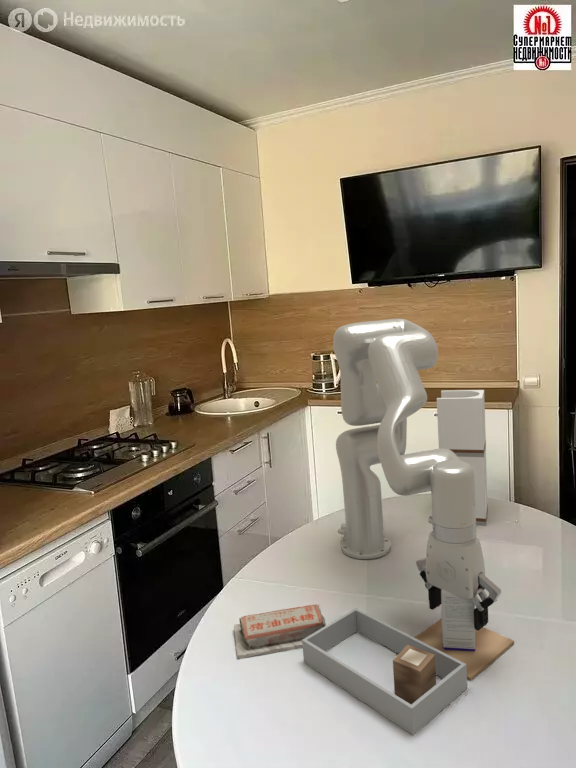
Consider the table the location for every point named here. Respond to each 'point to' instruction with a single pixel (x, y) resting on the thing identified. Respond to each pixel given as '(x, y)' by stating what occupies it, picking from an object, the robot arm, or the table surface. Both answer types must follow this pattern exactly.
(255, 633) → the packaged product
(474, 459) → the tall striped box
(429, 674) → the walnut block
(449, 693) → the grey bin
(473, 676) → the cork mat
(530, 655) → the table surface
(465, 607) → the supplement box
